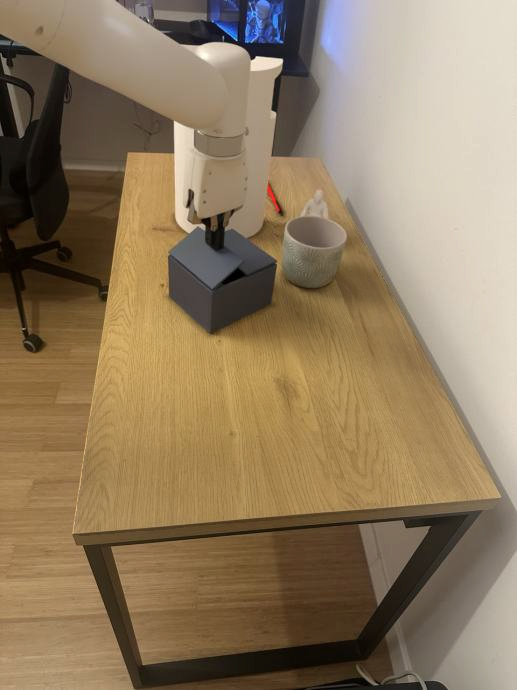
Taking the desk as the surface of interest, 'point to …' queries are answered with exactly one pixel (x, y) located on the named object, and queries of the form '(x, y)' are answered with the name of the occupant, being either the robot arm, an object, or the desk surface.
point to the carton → (225, 286)
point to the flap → (205, 258)
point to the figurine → (316, 206)
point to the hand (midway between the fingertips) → (214, 245)
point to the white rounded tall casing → (257, 150)
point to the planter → (312, 250)
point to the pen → (274, 200)
